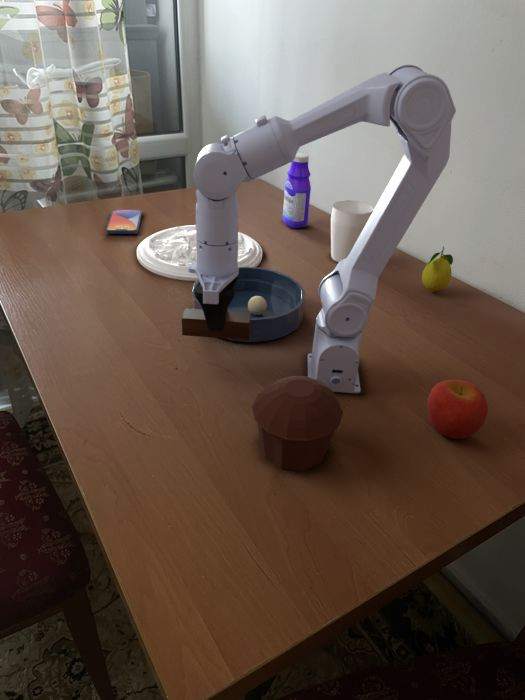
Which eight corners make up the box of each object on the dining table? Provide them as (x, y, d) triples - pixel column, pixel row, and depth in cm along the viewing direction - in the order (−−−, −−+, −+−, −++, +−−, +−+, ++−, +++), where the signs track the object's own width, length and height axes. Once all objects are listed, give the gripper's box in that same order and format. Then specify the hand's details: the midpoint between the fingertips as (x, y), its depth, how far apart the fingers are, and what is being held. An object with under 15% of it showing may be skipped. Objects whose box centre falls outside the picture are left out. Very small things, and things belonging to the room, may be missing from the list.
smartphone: (142, 213, 142) (142, 209, 141) (137, 234, 129) (137, 230, 129) (113, 213, 141) (112, 209, 141) (105, 234, 129) (105, 230, 128)
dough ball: (248, 291, 99) (244, 306, 101) (252, 304, 97) (247, 318, 99) (266, 292, 100) (262, 306, 103) (271, 304, 98) (266, 319, 100)
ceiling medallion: (220, 222, 140) (221, 210, 138) (287, 263, 121) (288, 250, 119) (116, 242, 126) (115, 229, 124) (173, 292, 107) (172, 278, 105)
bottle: (278, 220, 143) (283, 152, 133) (297, 218, 145) (303, 150, 135) (291, 230, 137) (297, 159, 128) (310, 228, 139) (318, 158, 130)
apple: (454, 457, 73) (470, 412, 68) (409, 424, 78) (421, 380, 74) (489, 436, 77) (505, 392, 72) (444, 405, 82) (457, 363, 78)
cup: (364, 268, 121) (373, 216, 114) (323, 263, 122) (330, 211, 115) (366, 253, 128) (374, 202, 121) (328, 248, 129) (334, 198, 123)
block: (248, 340, 82) (249, 322, 80) (182, 335, 82) (181, 318, 80) (250, 329, 84) (250, 312, 82) (185, 325, 84) (185, 308, 83)
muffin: (289, 407, 80) (294, 351, 74) (352, 445, 74) (364, 386, 68) (232, 449, 72) (234, 389, 66) (298, 494, 66) (306, 432, 61)
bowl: (302, 349, 93) (304, 323, 90) (183, 340, 93) (182, 314, 90) (302, 293, 109) (304, 270, 107) (202, 286, 110) (201, 263, 107)
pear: (419, 298, 110) (430, 252, 105) (413, 284, 115) (423, 240, 110) (452, 300, 110) (464, 254, 105) (444, 286, 115) (456, 242, 110)
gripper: (196, 217, 81) (197, 298, 88) (178, 257, 69) (182, 347, 76) (243, 220, 81) (241, 301, 88) (234, 261, 69) (232, 351, 76)
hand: (217, 323), depth 82 cm, fingers closed on block, 3 cm apart
